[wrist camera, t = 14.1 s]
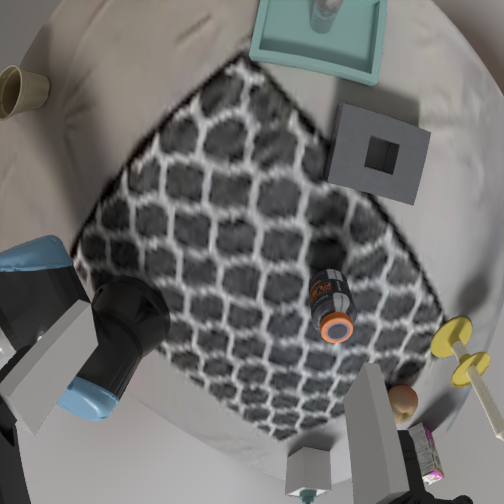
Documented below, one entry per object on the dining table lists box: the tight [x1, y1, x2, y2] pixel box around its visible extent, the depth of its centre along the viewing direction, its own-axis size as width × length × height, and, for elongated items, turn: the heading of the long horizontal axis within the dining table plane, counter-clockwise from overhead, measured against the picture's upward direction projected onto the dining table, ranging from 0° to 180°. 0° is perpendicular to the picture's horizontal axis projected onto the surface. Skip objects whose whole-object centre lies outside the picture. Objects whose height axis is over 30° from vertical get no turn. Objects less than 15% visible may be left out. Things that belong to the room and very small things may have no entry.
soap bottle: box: [285, 446, 331, 504], centre depth 56 cm, size 9×9×19 cm
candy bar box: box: [407, 422, 444, 484], centre depth 51 cm, size 11×5×16 cm, turn 41°
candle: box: [430, 317, 504, 441], centre depth 33 cm, size 10×10×27 cm
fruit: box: [387, 385, 418, 424], centre depth 48 cm, size 8×8×8 cm
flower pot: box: [0, 65, 50, 121], centre depth 31 cm, size 9×9×9 cm
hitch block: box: [323, 103, 431, 205], centre depth 33 cm, size 12×10×4 cm
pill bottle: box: [309, 269, 357, 343], centre depth 38 cm, size 6×6×11 cm
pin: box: [310, 0, 344, 34], centre depth 22 cm, size 3×3×14 cm
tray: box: [249, 0, 387, 87], centre depth 28 cm, size 16×14×3 cm
